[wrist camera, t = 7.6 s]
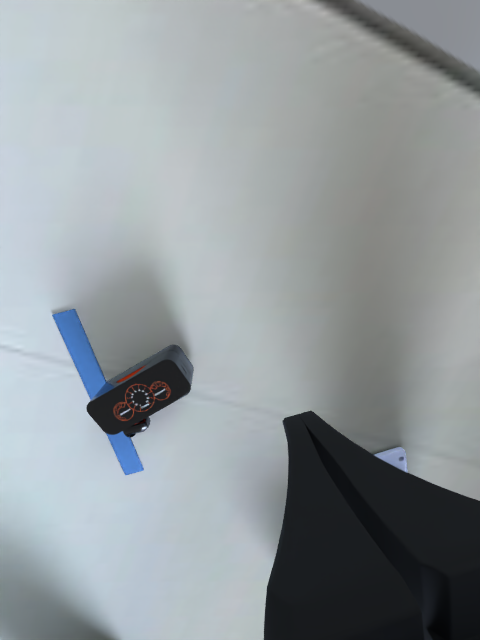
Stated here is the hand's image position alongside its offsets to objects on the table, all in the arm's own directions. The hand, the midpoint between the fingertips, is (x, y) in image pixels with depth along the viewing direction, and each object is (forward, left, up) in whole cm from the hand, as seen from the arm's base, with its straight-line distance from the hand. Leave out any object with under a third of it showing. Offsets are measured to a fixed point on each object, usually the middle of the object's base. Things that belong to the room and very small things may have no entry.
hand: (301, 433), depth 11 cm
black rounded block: (0, +9, -9) cm, 13 cm away
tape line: (0, +13, -9) cm, 15 cm away
